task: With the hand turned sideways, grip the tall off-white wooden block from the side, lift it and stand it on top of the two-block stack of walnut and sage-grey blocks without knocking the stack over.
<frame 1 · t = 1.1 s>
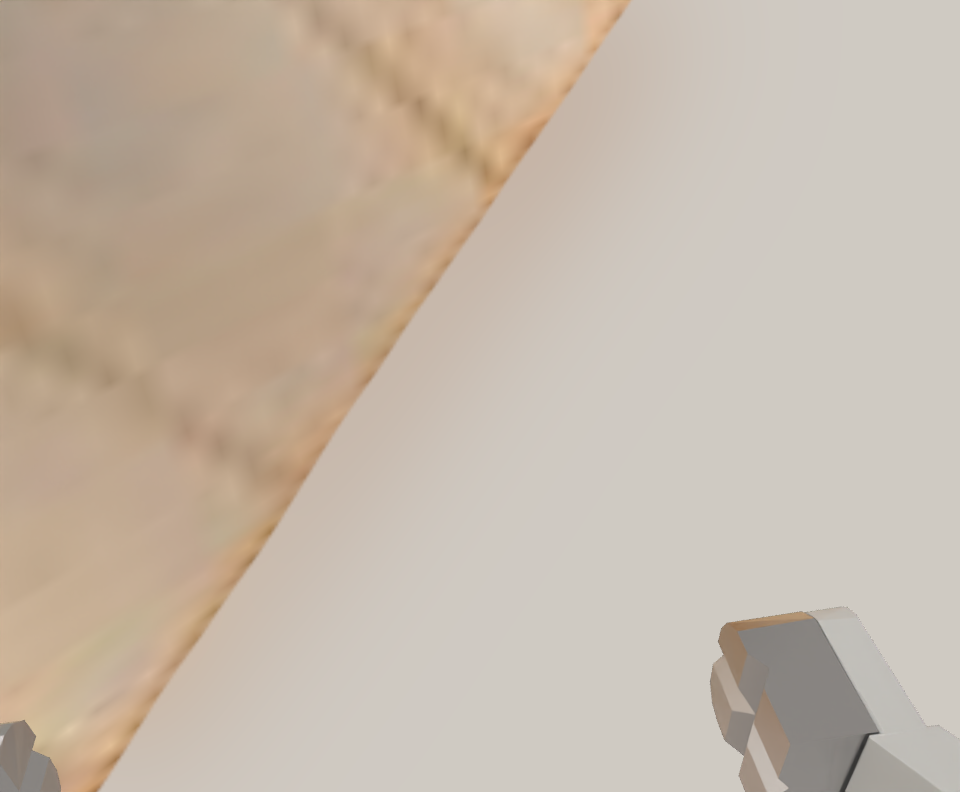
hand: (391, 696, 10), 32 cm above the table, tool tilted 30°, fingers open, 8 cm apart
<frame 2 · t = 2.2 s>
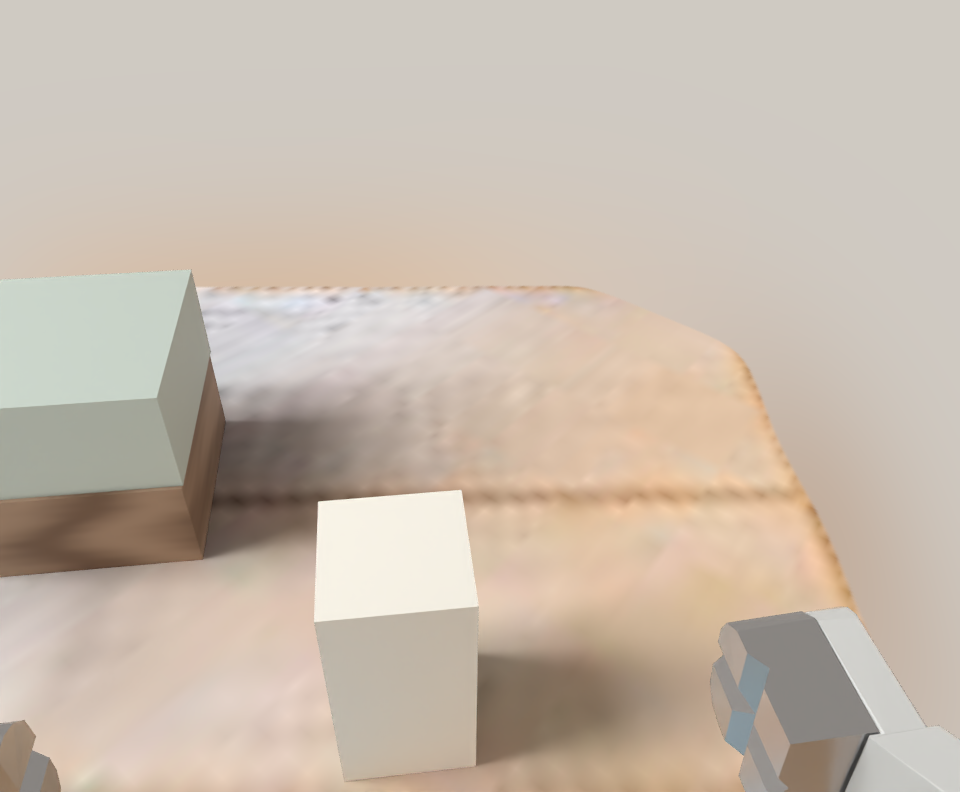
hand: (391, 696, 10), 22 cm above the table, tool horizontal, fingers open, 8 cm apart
tower bottom: (116, 495, 43), on the table, touching tower top
tall block: (406, 713, 34), on the table
tower top: (91, 419, 40), point 5 cm above the table, touching tower bottom
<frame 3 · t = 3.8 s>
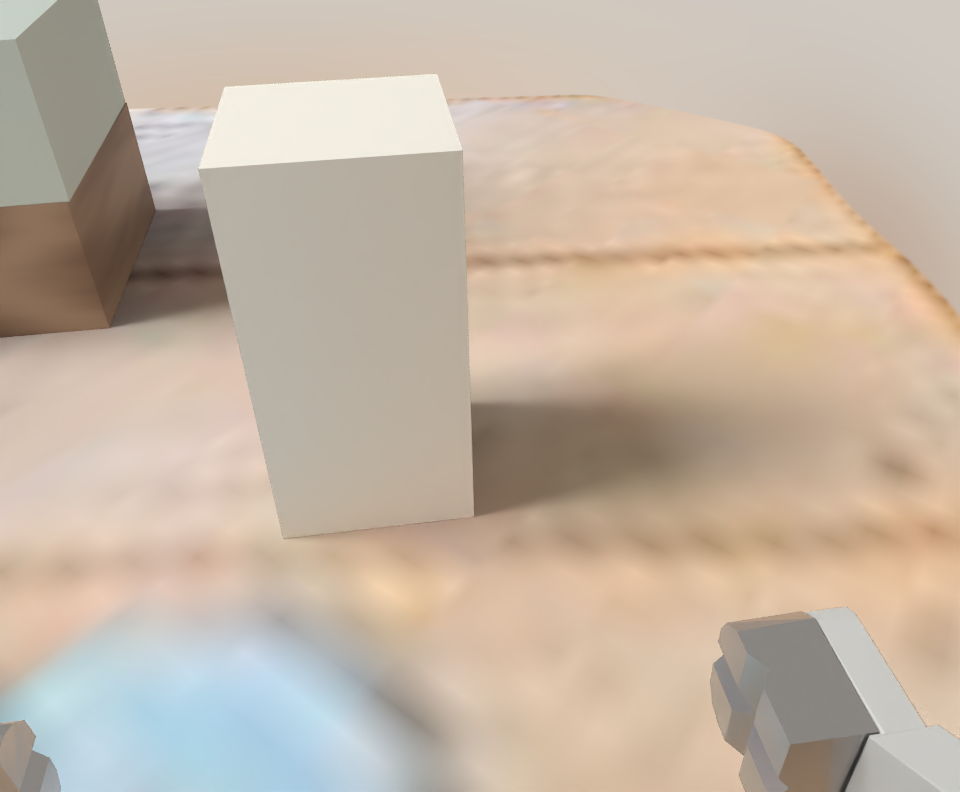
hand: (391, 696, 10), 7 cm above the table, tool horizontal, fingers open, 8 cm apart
tower bottom: (7, 276, 34), on the table, touching tower top
tall block: (375, 464, 24), on the table
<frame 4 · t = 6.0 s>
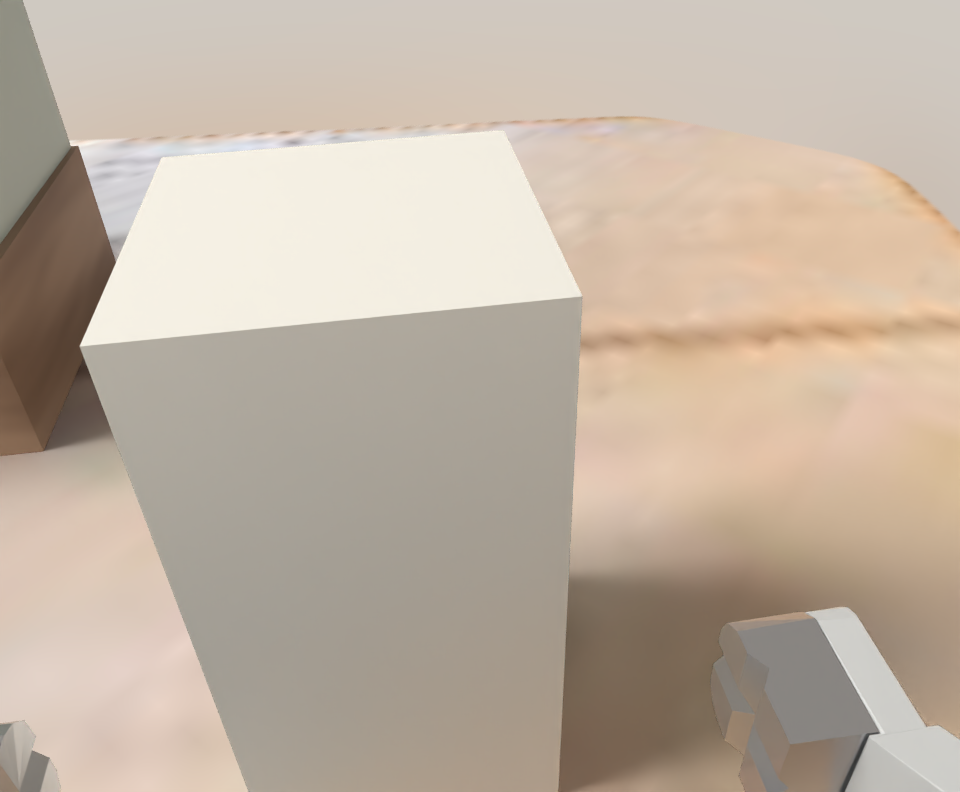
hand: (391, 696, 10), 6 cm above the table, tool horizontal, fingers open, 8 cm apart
tall block: (404, 691, 16), on the table
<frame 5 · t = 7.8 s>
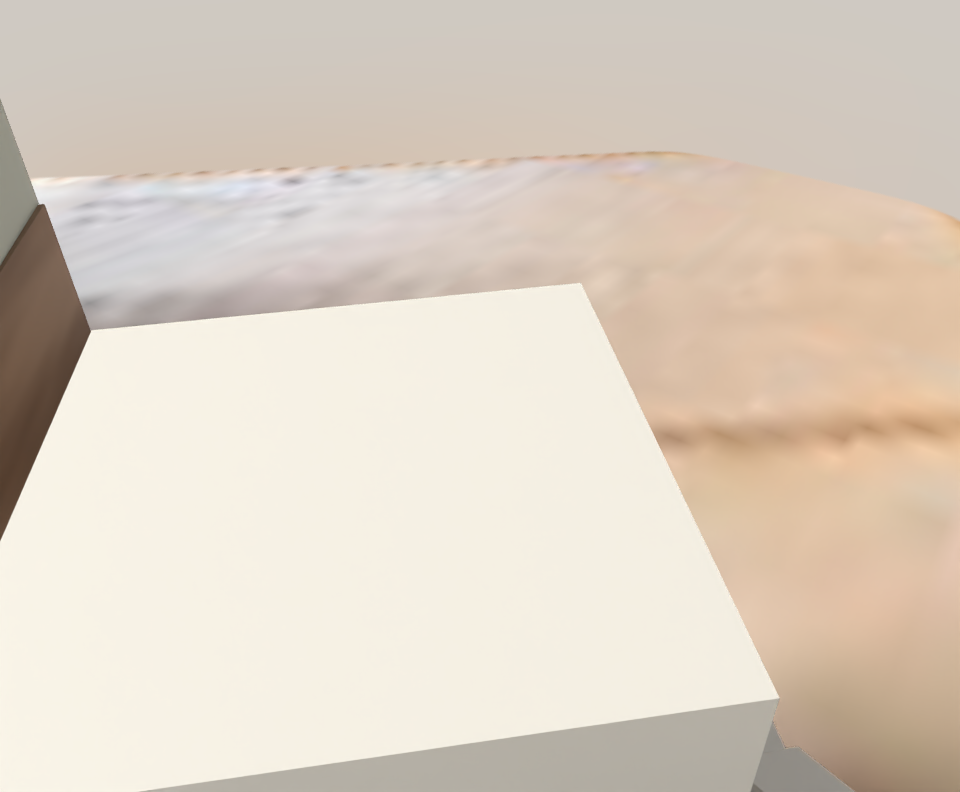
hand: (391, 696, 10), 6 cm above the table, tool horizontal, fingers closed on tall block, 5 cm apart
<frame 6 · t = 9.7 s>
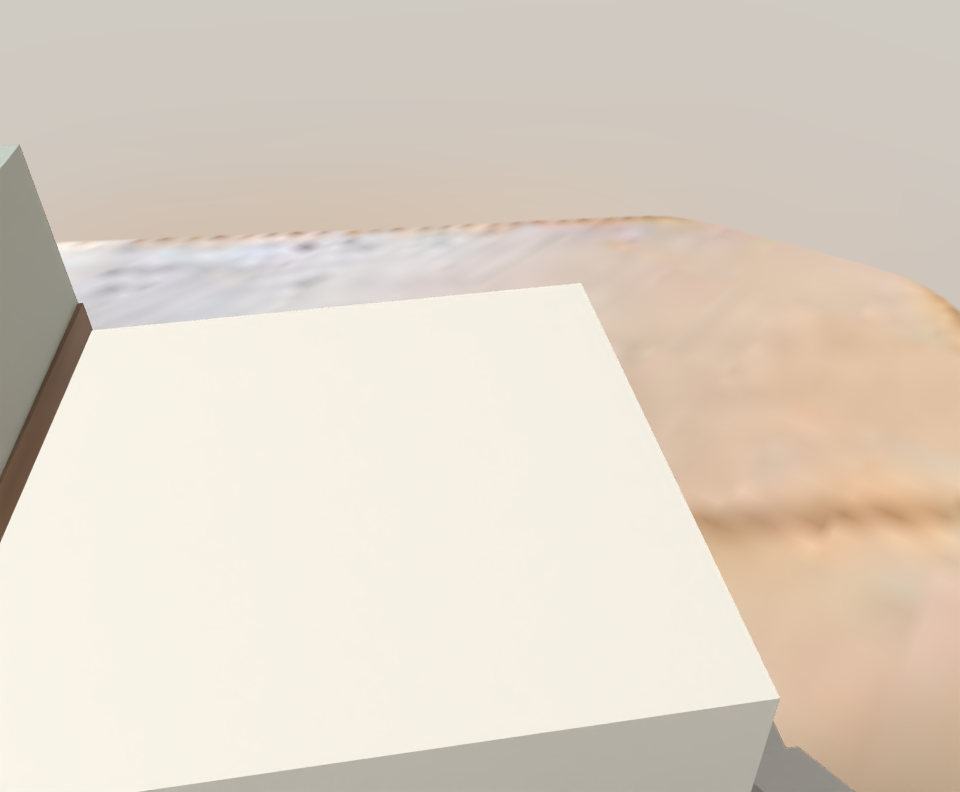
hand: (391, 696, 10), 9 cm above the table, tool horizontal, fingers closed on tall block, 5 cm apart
when the fingers open (17 cm above the table, at t = 16.1 s): tall block drops 2 cm, resting on tower top.
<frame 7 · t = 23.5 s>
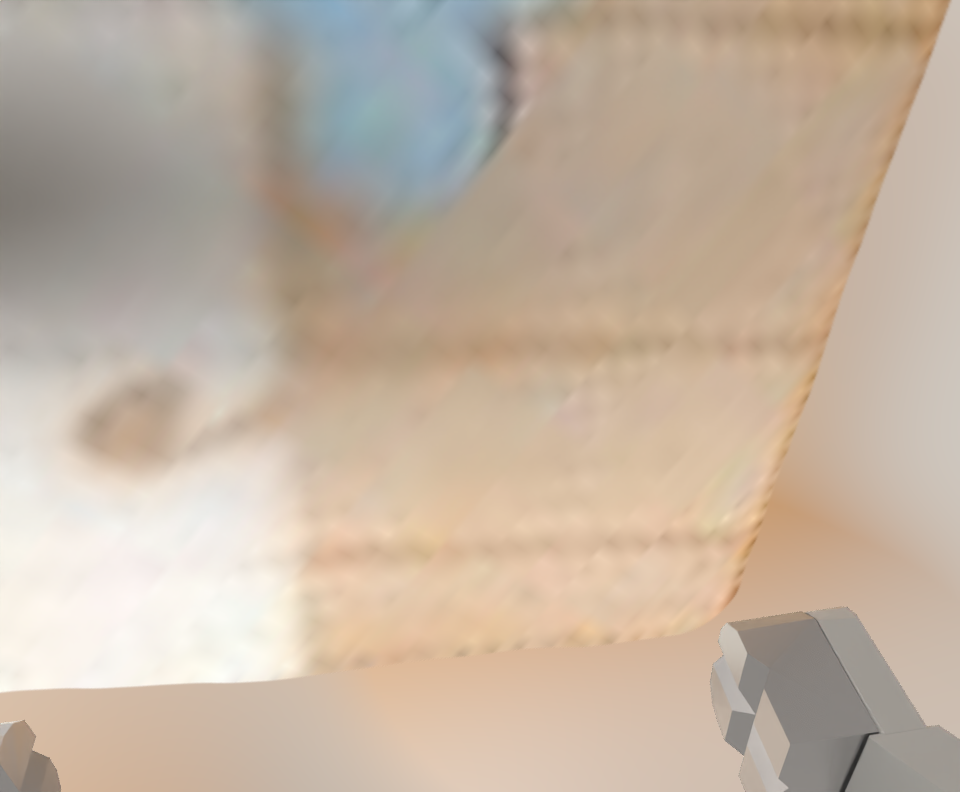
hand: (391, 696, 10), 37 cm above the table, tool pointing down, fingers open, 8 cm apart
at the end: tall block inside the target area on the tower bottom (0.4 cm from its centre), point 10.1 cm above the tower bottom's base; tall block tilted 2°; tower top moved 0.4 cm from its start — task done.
